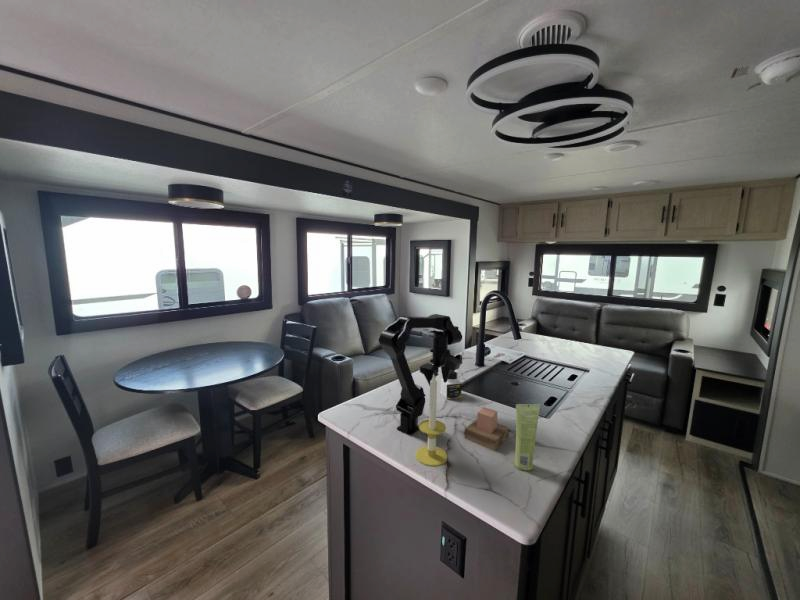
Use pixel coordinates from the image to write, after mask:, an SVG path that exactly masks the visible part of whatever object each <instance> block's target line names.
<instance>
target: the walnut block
mask: <svg viewBox="0 0 800 600" xmlns="http://www.w3.org/2000/svg"><path fill="white" fill-rule="evenodd" d="M509 431H510V427H508V426H506V425H503V424H499V423H498V422H497V428H496V429H495V430H494V431H493V432H492V433H491V434H490V433H487V432H484V431H481V430H479V429H477V419H475V420H474V421H473V422H472V423H470V424H469V425H468V426H466V427H465V428H464V440H465V439H466V440H467V441H470V442H471V443H475V444H477V445H479V446H481V447H483V448H486V449H488V450H491V451H493V452H495V451H496V450H498V448H499V447H501V445H503V443H505V441H506V440H507V439H509V435H510V434H509Z"/></svg>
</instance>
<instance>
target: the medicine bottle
mask: <svg viewBox="0 0 800 600" xmlns="http://www.w3.org/2000/svg"><path fill="white" fill-rule="evenodd" d="M440 394H441V395H442V396H443V398H445V399H446V400H452V399H451V398H455V399H461V398H462V382H461V381H460V380H459V370H458V369H456V370H455V371H452V370H451V371H450V374H449V377H448V380H447V382H446V383H445V382H444V381H443V377H442V378H441V377H440ZM460 397H461V398H460Z"/></svg>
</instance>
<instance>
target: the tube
mask: <svg viewBox="0 0 800 600" xmlns="http://www.w3.org/2000/svg"><path fill="white" fill-rule="evenodd" d="M540 411H541V403H533V404H530V403H529V404H525V403H524V404H521V403H520V404H519V403H517V404H515V415H516V416H515V418H516V419H515V421H516V422H515V424H516V425H515V428H516V429H515V433H516V434H515V454H514V464H515V466H516V468H517V469H519V470H521V471H524V472H525V471H526V472H527V471H531V470H533V462H534V453H535V446H536V438H537V437H536V436H537V430H538V422H539V415H540Z"/></svg>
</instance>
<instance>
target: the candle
mask: <svg viewBox="0 0 800 600" xmlns="http://www.w3.org/2000/svg"><path fill="white" fill-rule="evenodd" d="M437 394H438V381H437V380H436V378H435V375H433V378H432V380H431V381H430V386H429V408H428V409H429V411H428V419H425V420H422V421H421V422H418V426H419V430H420V431H421V432H422V433H423V434H427V445H425V446H422V447H419V448H418V449H417V450H416V452H415V458H416V460H417V461H418V462H419V463H420V464H422V465H424V466H428V467H438V466H441V465H443V464H445V463H446V462H447V461H448V454H447V452H446V451H445V450H444V449H443V448H441V447H439V446H437V436H439V435H441V434H443V433H445V432H446V429H447V426H446V425H445V423H444V422H442V421H439V420H438V419H437V398H438V395H437Z"/></svg>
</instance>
